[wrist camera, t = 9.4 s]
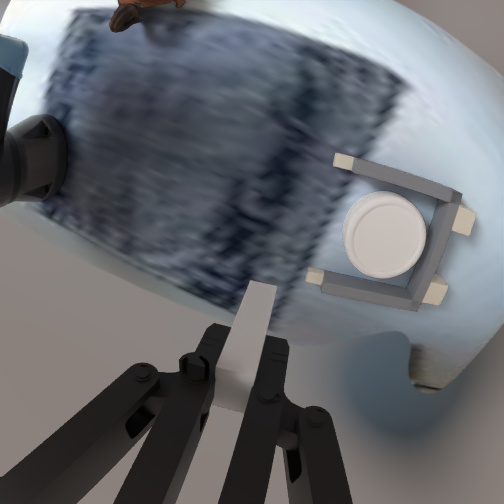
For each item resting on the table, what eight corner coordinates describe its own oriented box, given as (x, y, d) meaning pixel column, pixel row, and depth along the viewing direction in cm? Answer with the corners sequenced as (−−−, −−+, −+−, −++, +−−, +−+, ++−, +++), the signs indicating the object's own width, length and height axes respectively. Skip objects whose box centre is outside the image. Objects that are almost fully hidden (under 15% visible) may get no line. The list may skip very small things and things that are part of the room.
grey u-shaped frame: (305, 277, 36) (305, 289, 34) (335, 152, 29) (337, 154, 27) (428, 302, 34) (434, 314, 32) (468, 195, 27) (480, 201, 25)
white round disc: (329, 252, 35) (331, 264, 31) (359, 177, 30) (365, 182, 27) (397, 276, 34) (404, 290, 31) (429, 208, 30) (440, 216, 26)
